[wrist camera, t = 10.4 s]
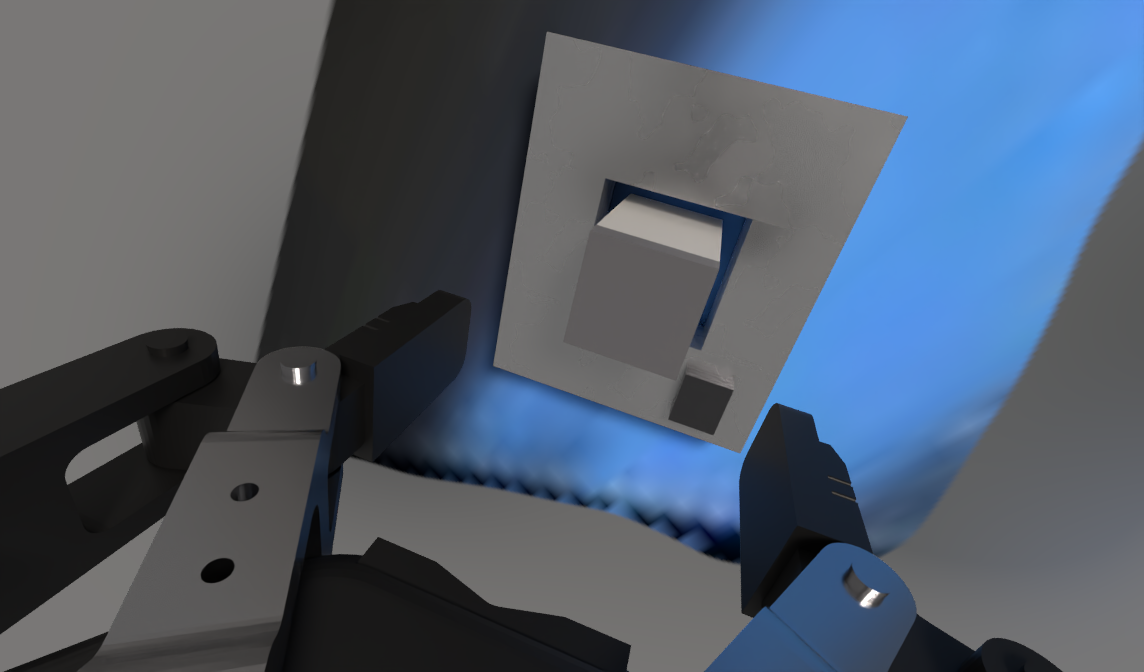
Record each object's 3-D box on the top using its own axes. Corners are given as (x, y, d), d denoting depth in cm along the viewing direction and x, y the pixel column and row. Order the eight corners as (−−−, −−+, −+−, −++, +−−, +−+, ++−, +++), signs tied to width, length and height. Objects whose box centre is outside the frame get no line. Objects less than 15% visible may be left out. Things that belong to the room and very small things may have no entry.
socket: (567, 39, 19) (540, 29, 16) (886, 114, 17) (915, 117, 15) (513, 343, 26) (487, 372, 23) (739, 421, 24) (740, 463, 21)
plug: (631, 193, 21) (590, 230, 15) (723, 219, 20) (719, 269, 14) (607, 278, 23) (562, 341, 17) (691, 305, 22) (676, 380, 16)
